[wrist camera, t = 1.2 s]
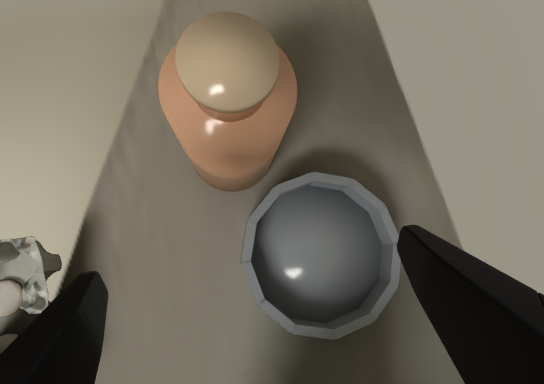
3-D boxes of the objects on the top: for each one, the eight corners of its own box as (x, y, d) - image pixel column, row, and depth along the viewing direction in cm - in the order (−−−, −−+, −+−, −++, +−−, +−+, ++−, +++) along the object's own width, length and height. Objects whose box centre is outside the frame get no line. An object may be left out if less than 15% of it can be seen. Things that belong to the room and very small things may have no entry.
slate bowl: (406, 292, 24) (425, 298, 21) (274, 352, 22) (279, 366, 19) (350, 162, 25) (363, 153, 22) (221, 210, 23) (219, 205, 21)
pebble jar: (284, 175, 24) (332, 106, 12) (207, 203, 23) (175, 159, 11) (255, 103, 25) (274, -31, 13) (179, 127, 24) (121, 8, 12)
